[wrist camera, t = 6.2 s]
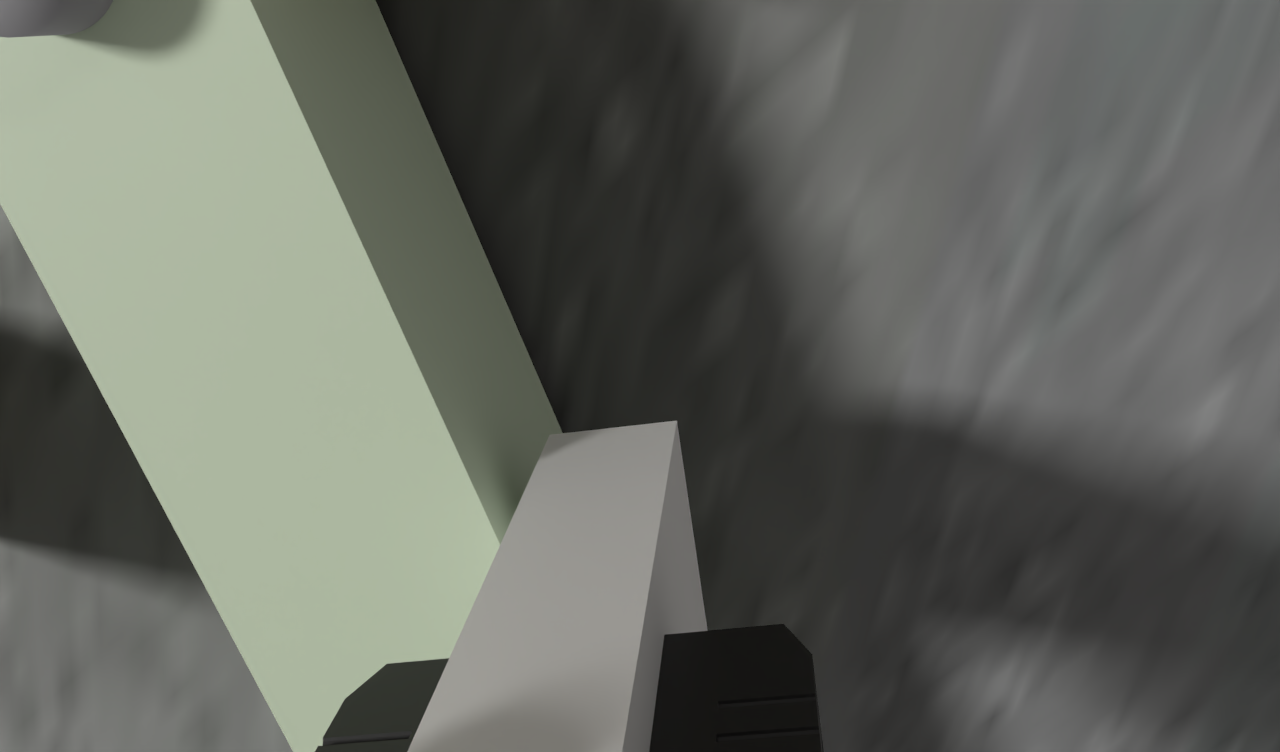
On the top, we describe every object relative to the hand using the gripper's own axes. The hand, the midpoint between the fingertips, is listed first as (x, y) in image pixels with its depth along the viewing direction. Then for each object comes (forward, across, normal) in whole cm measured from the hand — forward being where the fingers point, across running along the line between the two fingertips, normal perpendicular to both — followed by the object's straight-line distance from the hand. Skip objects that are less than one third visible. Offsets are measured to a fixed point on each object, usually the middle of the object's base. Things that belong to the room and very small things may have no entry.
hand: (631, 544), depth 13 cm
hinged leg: (+3, -3, +2) cm, 4 cm away
